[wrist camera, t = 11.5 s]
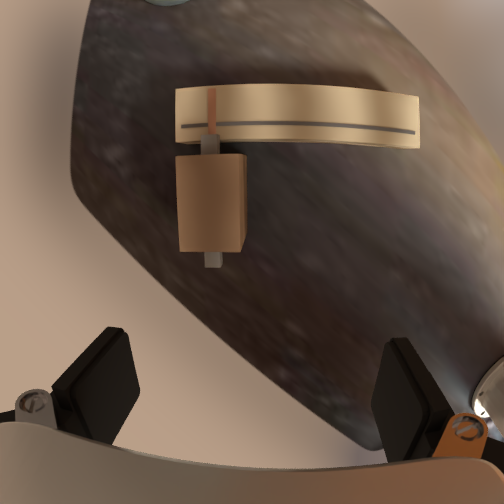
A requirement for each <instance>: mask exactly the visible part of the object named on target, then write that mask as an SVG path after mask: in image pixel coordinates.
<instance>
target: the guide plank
mask: <svg viewBox="0 0 504 504" xmlns="http://www.w3.org/2000/svg"><path fill="white" fill-rule="evenodd" d="M175 131H176V142H177V143H183V144H201V135H209V134H218V135H220V143H227V142H309V143H333V144H350V145H364V146H376V147H387V148H397V149H414V148H420V122H419V98H418V97H416V96H411V95H405V94H398V93H392V92H385V91H377V90H369V89H360V88H350V87H339V86H325V85H306V84H236V85H216V86H202V87H191V88H181V89H176V100H175Z"/></svg>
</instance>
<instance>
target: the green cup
mask: <svg viewBox="0 0 504 504" xmlns="http://www.w3.org/2000/svg"><path fill="white" fill-rule="evenodd" d="M145 1H147V2H149V3H151V4H154V5H159V6H171V5H177V4H182V3H184V2H187V1H189V0H145Z"/></svg>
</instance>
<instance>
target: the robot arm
mask: <svg viewBox="0 0 504 504" xmlns="http://www.w3.org/2000/svg"><path fill="white" fill-rule="evenodd" d="M51 387H52V389H53V391H52V392H51V393H50V394H49V393H48V392H47V391H45V390H42V389H33V390H29V391H26V392H24V393H23V394H21V395H20V396H19V397H18V399H17V400H16V403H15V410H11V411H8V412H3V413H0V504H504V443H503V442H500V441H498V440H495V439H492V438H490V437H487V436H488V427H487V424H486V423H485V421H484V420H483V419H482V418H480V417H489V416H490V418H491V419H492V421H493V422H494V424H495V425H496V427H497V428H498V430H499V431H500V433H501V435H502V436H503V438H504V356H503V357H502V358H501V359H500V360H498V361H497V362H496V363H495V364H494V365H493V366H492V367H491V368H490V369H489V371H488V372H487V373H486V374H485V375H484V377H483V378H482V379H481V381H480V383H479V384H478V386H477V388H476V390H475V392H474V395H473V398H472V408H473V410H474V412H475V413H476V415H475V414H471V413H459V414H456V415H455V414H454V412H453V410H452V408H451V407H450V405H449V403H448V402H447V400H446V398H445V396H444V395H443V393H442V391H441V390H440V388H439V386H438V385H437V383H436V382H435V380H434V378H433V377H432V375H431V373H430V372H429V371H428V370H427V368H426V366H425V365H424V363H423V362H422V360H421V358H420V357H419V355H418V354H417V352H416V351H415V349H414V347H413V346H412V344H411V343H410V341H409V340H408V338H406V337H403V338H392V339H391V340H390V342H387V343H386V344H385V347H384V351H383V356H382V360H381V364H380V368H379V372H378V376H377V380H376V384H375V388H374V392H373V395H372V399H371V407H372V411H373V414H374V417H375V421H376V424H377V427H378V430H379V434H380V437H381V440H382V444H383V447H384V451H385V454H386V457H387V461H388V463H383V464H374V465H363V466H351V467H337V468H316V469H273V468H251V467H237V466H226V465H216V464H208V463H199V462H193V461H186V460H180V459H173V458H167V457H162V456H157V455H152V454H147V453H142V452H138V451H133V450H129V449H125V448H121V447H117V446H113V445H112V443H113V442H114V440H115V438H116V436H117V434H118V433H119V431H120V429H121V427H122V425H123V424H124V422H125V420H126V418H127V417H128V415H129V413H130V411H131V410H132V408H133V406H134V404H135V402H136V401H137V399H138V397H139V394H140V387H139V383H138V378H137V374H136V370H135V365H134V361H133V356H132V351H131V347H130V342H129V337H128V334H127V333H126V332H124V330H123V329H122V328H116V327H107V328H106V329H105V330H104V331H103V332H102V333H101V334H100V335H99V336H98V337H97V338H96V339H95V340H94V341H93V342H92V343H91V344H90V345H89V346H88V348H87V349H86V350H85V351H84V352H83V353H82V354H81V355H80V356H79V357H78V358H77V359H76V360H75V361H74V363H72V364H71V365H70V367H69V368H68V369H67V370H66V371H65V372H64V373H63V374H62V375H61V376H60V377H59V379H58V380H57V381H56V382H55V383H54V384H53V385H52V386H51Z"/></svg>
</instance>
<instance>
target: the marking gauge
mask: <svg viewBox="0 0 504 504" xmlns="http://www.w3.org/2000/svg"><path fill="white" fill-rule="evenodd" d="M176 187H177V210H178V228H179V244H180V252H204V257H205V267H212V268H220V267H221V265H222V263H223V259H222V252H241V249H242V246H243V243H244V240H245V237H246V234H247V155H243V154H220V135H218V134H209V135H201V155H188V156H176Z"/></svg>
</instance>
